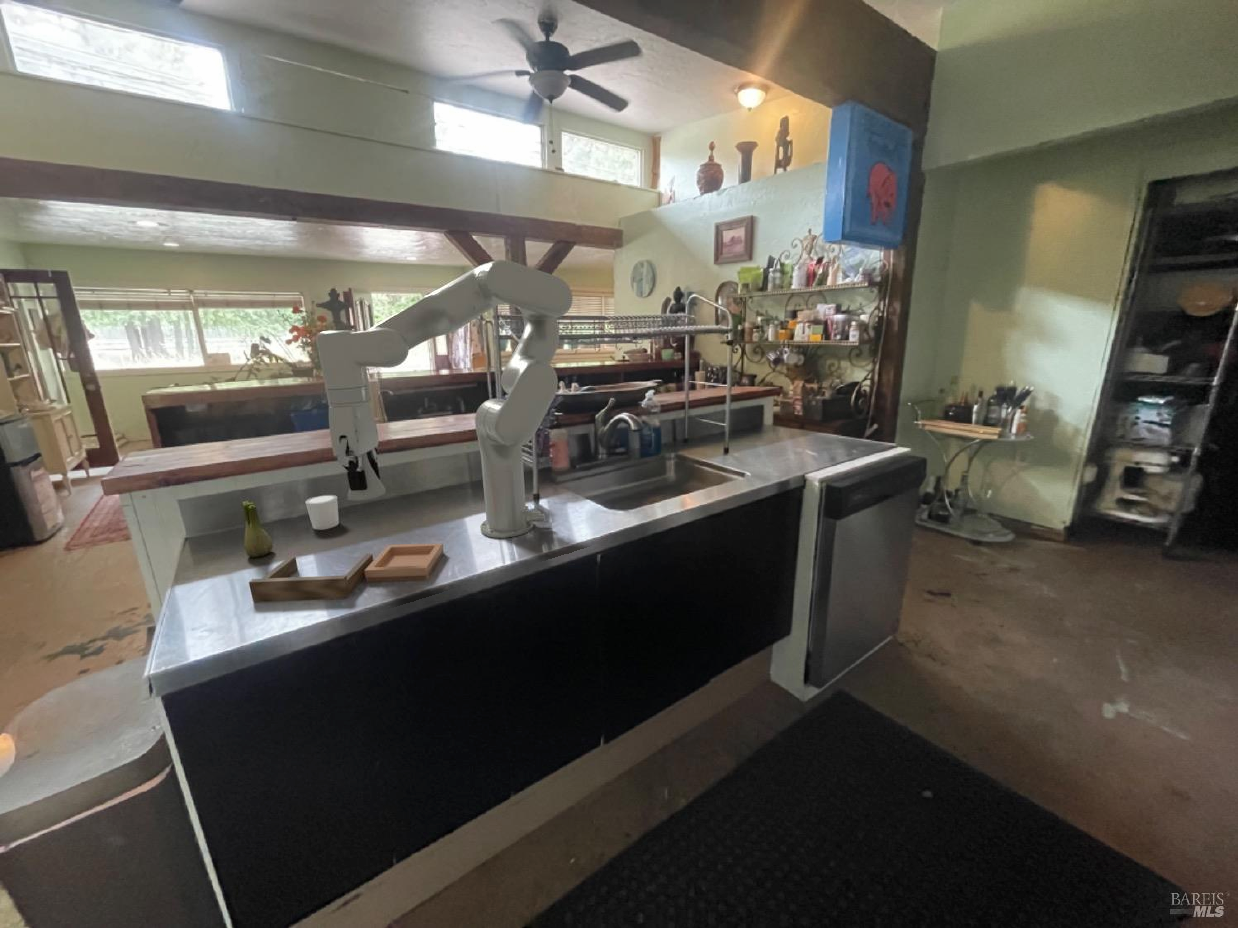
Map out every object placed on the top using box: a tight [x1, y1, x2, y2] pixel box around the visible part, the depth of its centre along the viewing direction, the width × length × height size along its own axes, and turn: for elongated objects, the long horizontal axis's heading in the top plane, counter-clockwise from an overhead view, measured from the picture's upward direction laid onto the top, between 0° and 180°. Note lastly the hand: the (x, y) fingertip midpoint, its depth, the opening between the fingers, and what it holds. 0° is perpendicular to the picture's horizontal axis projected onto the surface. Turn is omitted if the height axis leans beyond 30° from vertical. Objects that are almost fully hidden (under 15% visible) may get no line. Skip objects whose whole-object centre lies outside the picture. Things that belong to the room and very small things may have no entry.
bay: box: [248, 553, 374, 603], centre depth 95 cm, size 16×12×4 cm
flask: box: [346, 452, 386, 502], centre depth 100 cm, size 7×7×10 cm
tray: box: [364, 542, 445, 583], centre depth 102 cm, size 12×12×2 cm
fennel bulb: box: [241, 501, 274, 558], centre depth 107 cm, size 6×5×12 cm
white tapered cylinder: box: [305, 494, 340, 531], centre depth 123 cm, size 7×7×7 cm
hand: (365, 484), depth 101 cm, fingers closed on flask, 5 cm apart
